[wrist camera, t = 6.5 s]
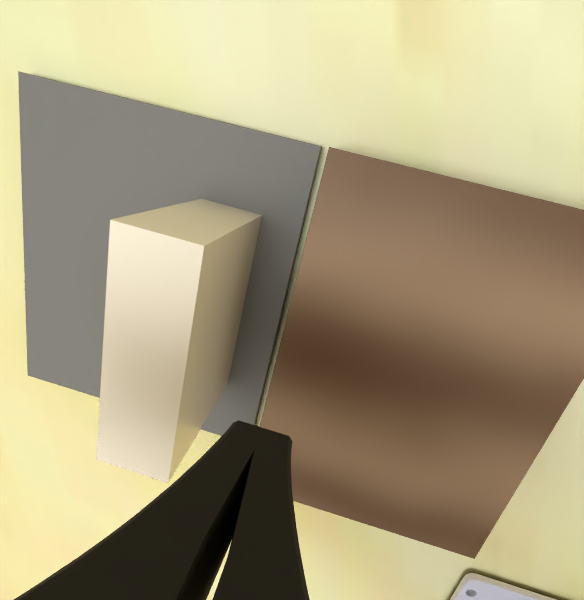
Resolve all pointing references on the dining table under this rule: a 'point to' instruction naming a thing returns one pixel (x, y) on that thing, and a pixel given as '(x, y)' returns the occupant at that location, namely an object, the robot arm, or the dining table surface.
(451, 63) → the dining table surface
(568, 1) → the dining table surface
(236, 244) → the tile
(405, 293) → the board
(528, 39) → the dining table surface
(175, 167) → the mat
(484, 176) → the dining table surface
